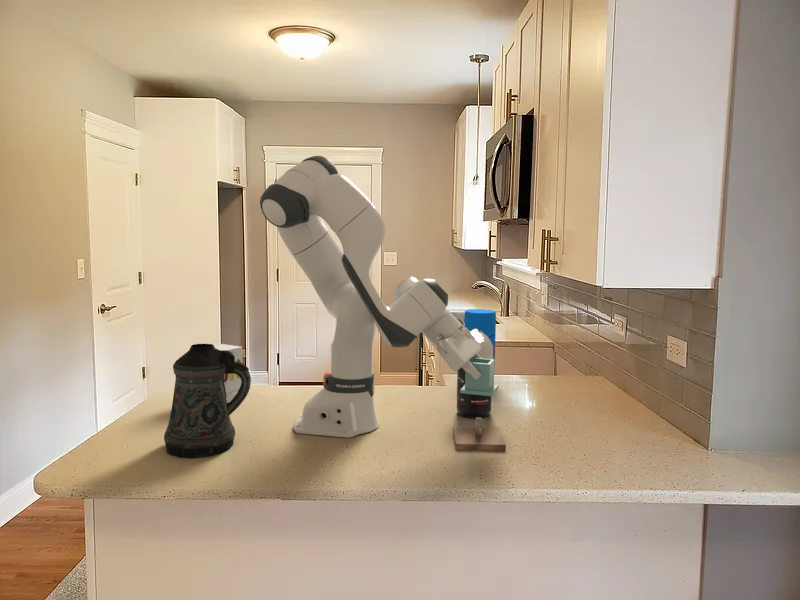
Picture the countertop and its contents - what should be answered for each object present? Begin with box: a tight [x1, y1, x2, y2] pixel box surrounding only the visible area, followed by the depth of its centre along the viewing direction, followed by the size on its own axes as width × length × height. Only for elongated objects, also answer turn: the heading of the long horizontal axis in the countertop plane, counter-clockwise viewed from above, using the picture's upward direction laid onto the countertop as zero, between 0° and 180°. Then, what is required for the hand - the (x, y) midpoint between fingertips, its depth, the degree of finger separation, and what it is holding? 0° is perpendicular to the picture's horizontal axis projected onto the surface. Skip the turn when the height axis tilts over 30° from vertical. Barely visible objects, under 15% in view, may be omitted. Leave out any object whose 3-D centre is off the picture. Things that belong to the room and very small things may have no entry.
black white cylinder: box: [456, 328, 493, 419], centre depth 175 cm, size 10×10×25 cm
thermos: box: [463, 308, 497, 369], centre depth 211 cm, size 11×11×25 cm
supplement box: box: [214, 343, 244, 403], centre depth 185 cm, size 10×9×17 cm
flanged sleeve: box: [460, 358, 499, 397], centre depth 151 cm, size 8×8×8 cm
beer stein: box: [163, 343, 252, 459], centre depth 148 cm, size 16×19×25 cm
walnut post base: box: [452, 417, 507, 452], centre depth 153 cm, size 12×12×6 cm
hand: (482, 373), depth 151 cm, fingers closed on flanged sleeve, 6 cm apart
